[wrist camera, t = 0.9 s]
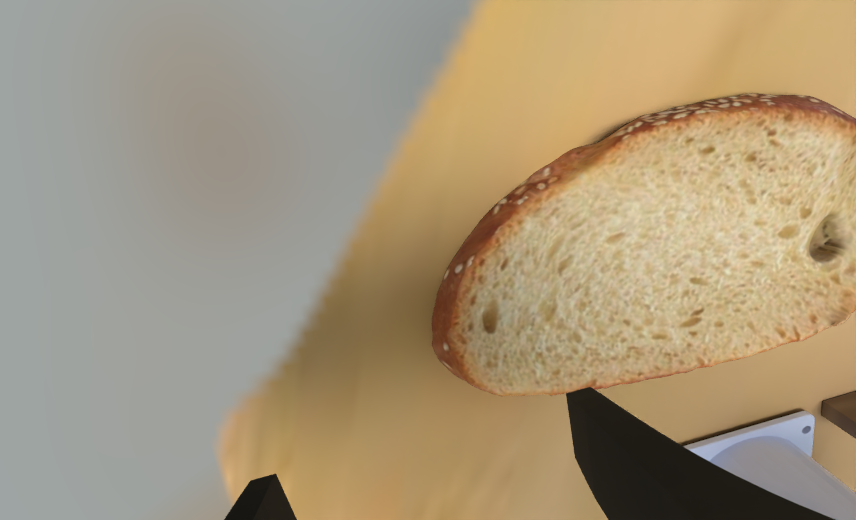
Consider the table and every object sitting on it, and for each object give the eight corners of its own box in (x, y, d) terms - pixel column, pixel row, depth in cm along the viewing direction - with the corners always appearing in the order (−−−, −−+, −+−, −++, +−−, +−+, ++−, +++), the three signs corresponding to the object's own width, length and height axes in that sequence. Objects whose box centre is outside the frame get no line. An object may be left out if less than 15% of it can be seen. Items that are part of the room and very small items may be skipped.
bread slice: (399, 351, 21) (406, 401, 17) (611, -42, 17) (675, -80, 13) (683, 459, 26) (733, 515, 22) (905, 172, 21) (1011, 186, 18)
